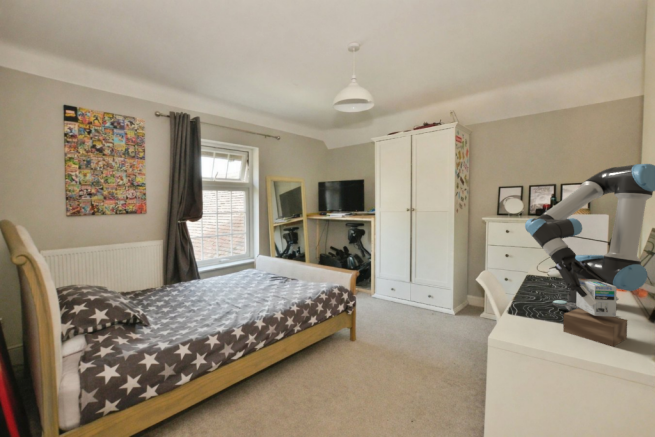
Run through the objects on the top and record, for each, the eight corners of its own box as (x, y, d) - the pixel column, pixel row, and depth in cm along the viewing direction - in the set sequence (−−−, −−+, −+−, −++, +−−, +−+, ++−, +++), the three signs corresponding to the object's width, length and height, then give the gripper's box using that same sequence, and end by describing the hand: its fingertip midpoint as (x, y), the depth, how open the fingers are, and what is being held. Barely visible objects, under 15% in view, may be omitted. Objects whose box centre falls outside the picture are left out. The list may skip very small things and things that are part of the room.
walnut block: (578, 325, 117) (578, 308, 117) (626, 339, 105) (627, 319, 105) (563, 332, 112) (563, 313, 111) (612, 347, 99) (613, 326, 99)
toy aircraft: (556, 304, 142) (556, 293, 142) (614, 315, 127) (615, 303, 127) (547, 313, 131) (548, 301, 131) (610, 326, 116) (610, 312, 116)
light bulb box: (616, 317, 102) (617, 286, 102) (594, 316, 103) (595, 285, 103) (595, 306, 113) (596, 278, 112) (575, 306, 114) (575, 278, 113)
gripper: (572, 255, 125) (617, 304, 111) (531, 259, 119) (573, 311, 104) (587, 244, 120) (635, 294, 106) (544, 247, 113) (590, 301, 99)
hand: (604, 302), depth 105 cm, fingers closed on light bulb box, 10 cm apart
